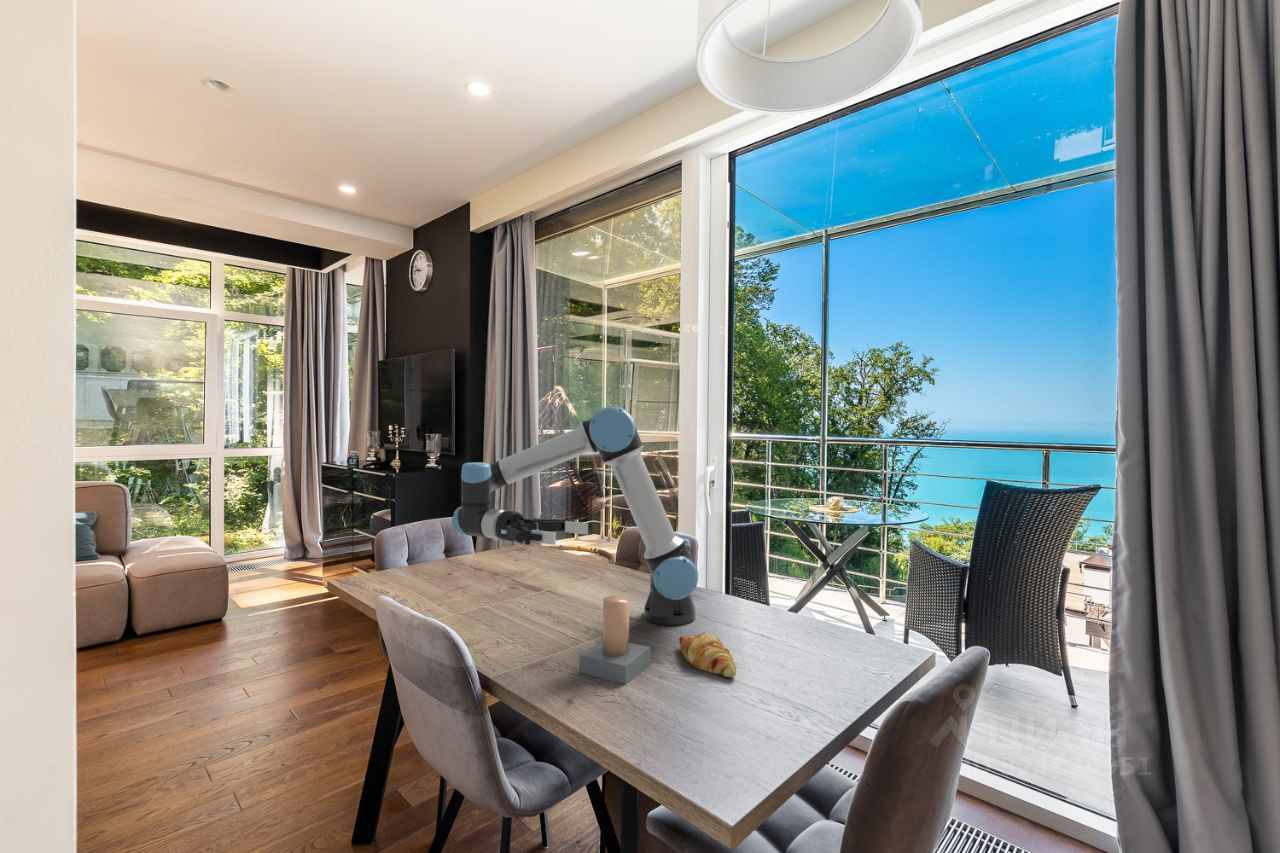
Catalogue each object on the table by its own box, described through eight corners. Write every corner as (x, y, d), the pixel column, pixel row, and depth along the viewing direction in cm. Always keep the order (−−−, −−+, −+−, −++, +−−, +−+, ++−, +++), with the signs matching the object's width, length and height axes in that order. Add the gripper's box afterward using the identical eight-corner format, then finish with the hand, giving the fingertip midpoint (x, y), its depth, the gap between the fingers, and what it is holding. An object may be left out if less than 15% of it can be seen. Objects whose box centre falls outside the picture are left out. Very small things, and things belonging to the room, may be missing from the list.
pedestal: (607, 653, 142) (607, 637, 142) (650, 664, 137) (650, 647, 136) (579, 672, 132) (579, 655, 132) (625, 684, 126) (625, 666, 126)
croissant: (743, 693, 130) (757, 659, 132) (713, 681, 125) (727, 646, 127) (688, 657, 148) (701, 627, 150) (660, 646, 143) (673, 615, 145)
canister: (611, 644, 138) (611, 594, 138) (633, 649, 135) (633, 598, 135) (597, 652, 133) (598, 601, 133) (620, 658, 130) (621, 605, 130)
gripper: (534, 531, 161) (598, 539, 151) (468, 548, 139) (539, 560, 129) (534, 504, 161) (599, 511, 151) (468, 517, 139) (539, 526, 129)
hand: (571, 533), depth 140 cm, fingers open, 13 cm apart
